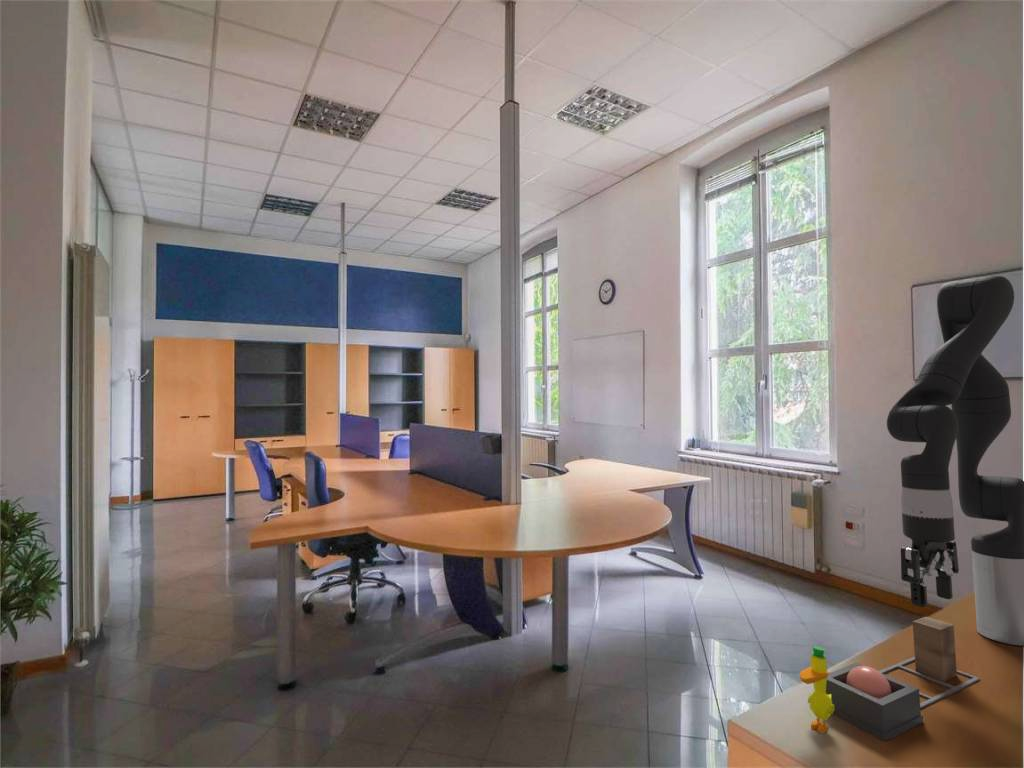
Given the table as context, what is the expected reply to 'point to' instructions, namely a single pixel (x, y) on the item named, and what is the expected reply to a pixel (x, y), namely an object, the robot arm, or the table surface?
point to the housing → (875, 705)
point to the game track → (940, 696)
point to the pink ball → (869, 681)
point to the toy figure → (818, 688)
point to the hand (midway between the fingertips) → (932, 601)
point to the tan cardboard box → (934, 648)
